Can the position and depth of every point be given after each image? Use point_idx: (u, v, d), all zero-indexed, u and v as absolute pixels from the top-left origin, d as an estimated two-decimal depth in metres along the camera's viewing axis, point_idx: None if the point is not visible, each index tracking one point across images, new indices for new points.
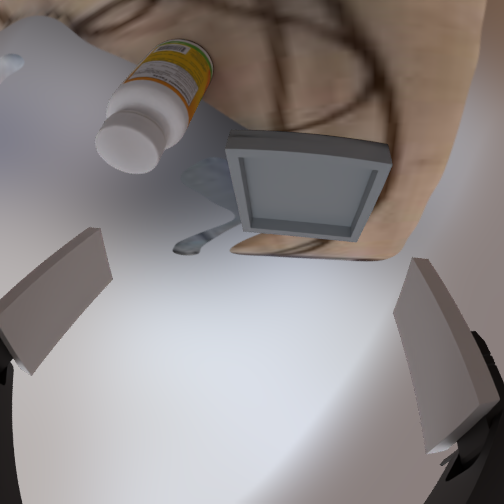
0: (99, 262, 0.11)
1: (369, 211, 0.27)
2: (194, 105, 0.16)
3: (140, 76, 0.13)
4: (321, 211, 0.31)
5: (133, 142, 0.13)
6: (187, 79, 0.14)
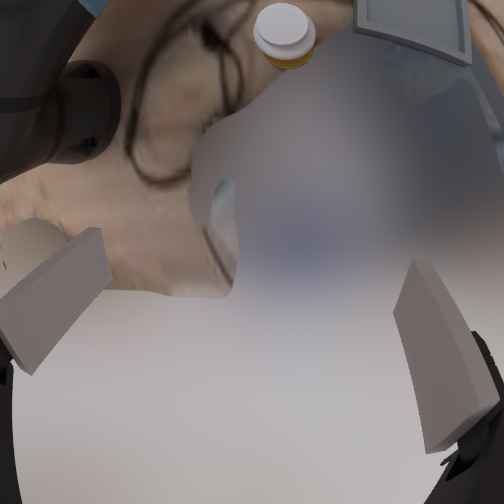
0: (99, 262, 0.11)
1: None
2: None
3: None
4: None
5: (273, 13, 0.15)
6: None
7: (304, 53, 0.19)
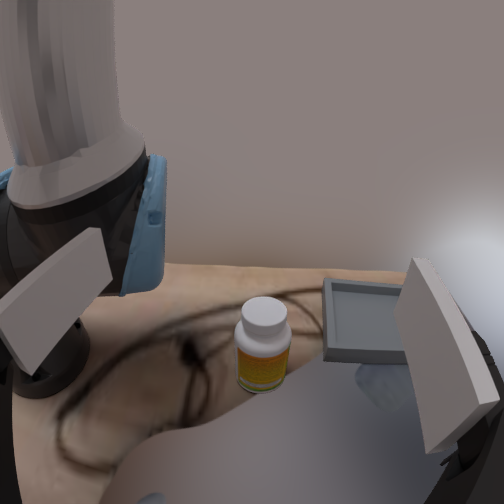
0: (99, 262, 0.11)
1: (369, 282, 0.40)
2: None
3: None
4: (392, 311, 0.36)
5: (258, 303, 0.25)
6: None
7: (279, 351, 0.24)
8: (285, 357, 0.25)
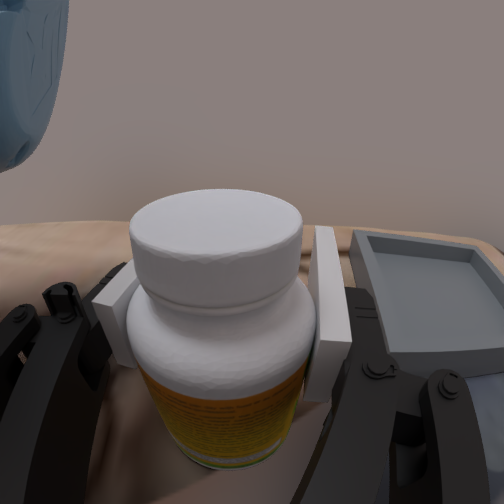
0: None
1: (425, 239, 0.22)
2: None
3: None
4: (467, 283, 0.19)
5: (199, 199, 0.07)
6: None
7: (275, 376, 0.06)
8: (295, 391, 0.07)
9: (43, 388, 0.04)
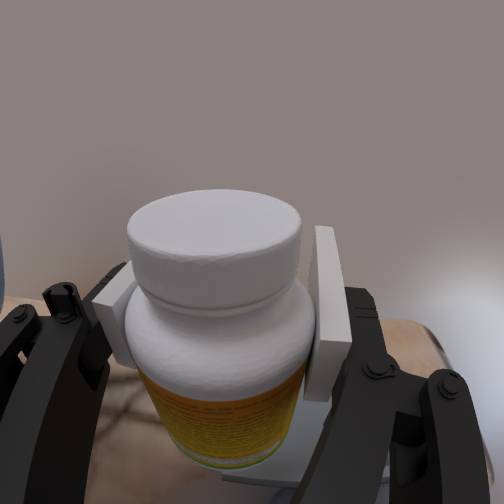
0: None
1: None
2: None
3: None
4: None
5: (197, 199, 0.07)
6: None
7: (274, 377, 0.06)
8: (294, 393, 0.07)
9: (44, 388, 0.04)
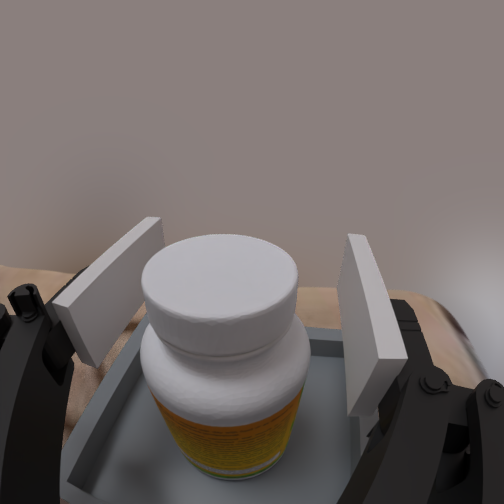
0: None
1: None
2: None
3: None
4: (302, 408, 0.13)
5: (203, 248, 0.08)
6: None
7: (273, 406, 0.06)
8: (291, 415, 0.08)
9: (13, 381, 0.04)
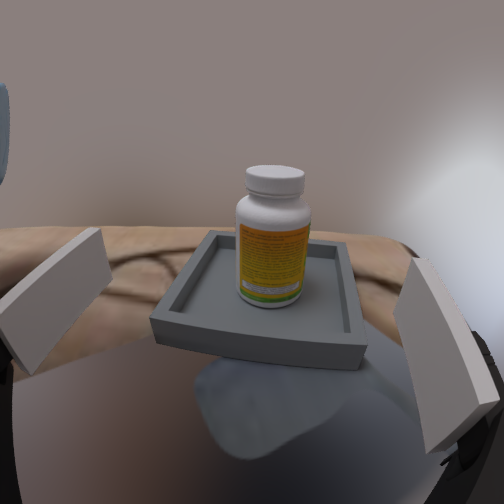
0: (99, 262, 0.11)
1: None
2: None
3: None
4: (309, 278, 0.25)
5: (266, 167, 0.19)
6: None
7: (298, 223, 0.18)
8: (304, 242, 0.19)
9: None
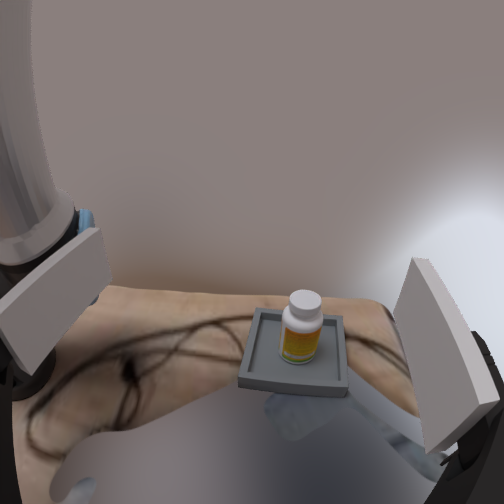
0: (99, 262, 0.11)
1: None
2: None
3: None
4: (319, 342, 0.40)
5: (300, 294, 0.35)
6: None
7: (316, 328, 0.33)
8: (319, 333, 0.35)
9: None
